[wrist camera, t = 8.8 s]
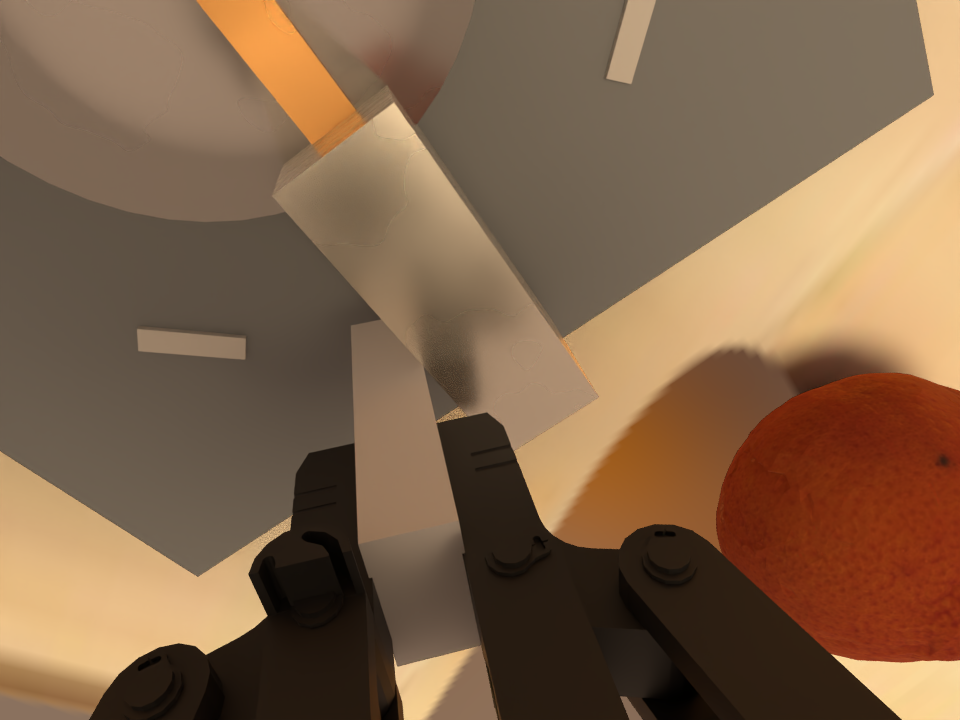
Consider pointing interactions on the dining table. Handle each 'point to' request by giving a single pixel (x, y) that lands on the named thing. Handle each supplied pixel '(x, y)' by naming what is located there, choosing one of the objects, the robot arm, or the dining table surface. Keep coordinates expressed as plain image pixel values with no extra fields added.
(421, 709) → the dining table surface
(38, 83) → the dial
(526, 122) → the panel
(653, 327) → the dining table surface
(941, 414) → the fruit
